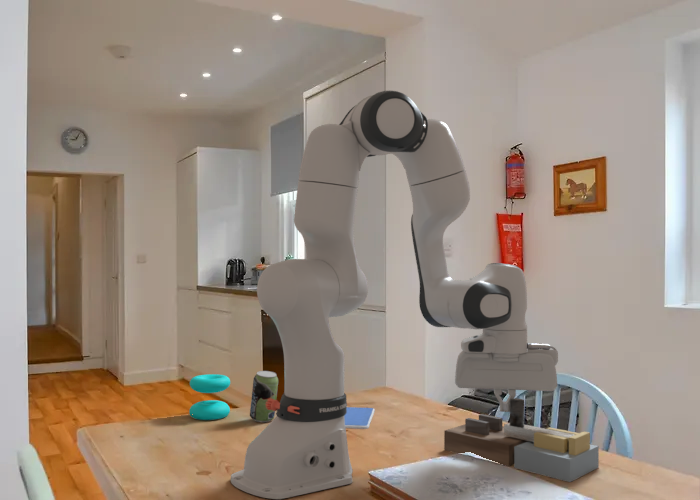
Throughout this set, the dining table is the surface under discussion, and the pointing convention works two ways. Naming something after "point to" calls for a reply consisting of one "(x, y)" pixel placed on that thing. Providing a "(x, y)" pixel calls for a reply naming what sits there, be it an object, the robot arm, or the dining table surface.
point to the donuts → (209, 407)
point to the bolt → (525, 431)
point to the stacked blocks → (558, 455)
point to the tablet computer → (358, 417)
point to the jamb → (482, 439)
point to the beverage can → (263, 395)
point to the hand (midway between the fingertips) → (505, 411)
